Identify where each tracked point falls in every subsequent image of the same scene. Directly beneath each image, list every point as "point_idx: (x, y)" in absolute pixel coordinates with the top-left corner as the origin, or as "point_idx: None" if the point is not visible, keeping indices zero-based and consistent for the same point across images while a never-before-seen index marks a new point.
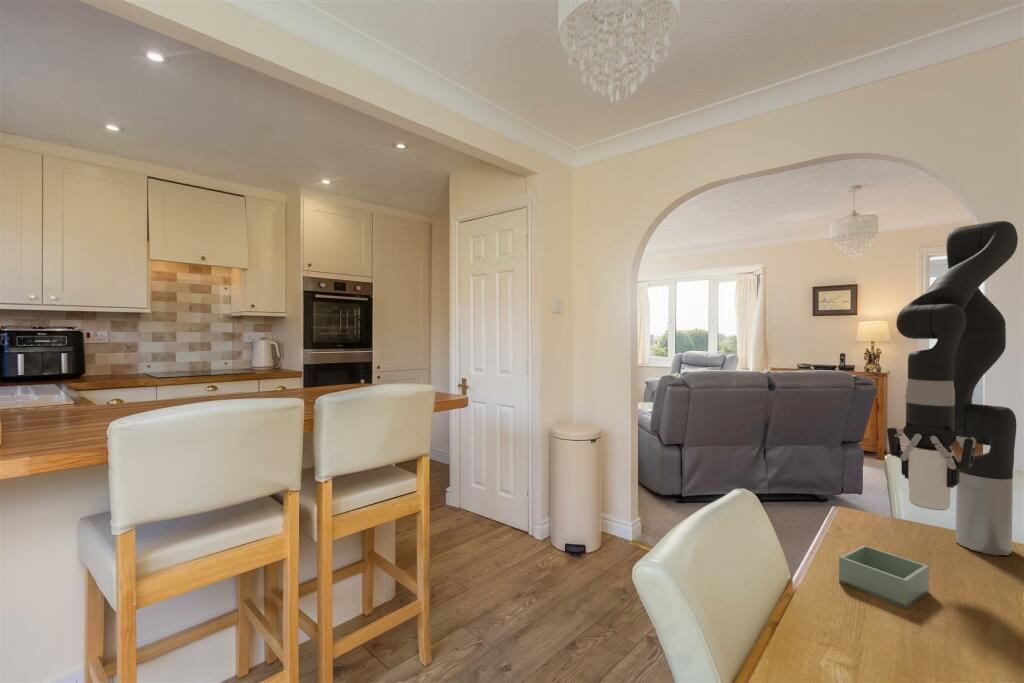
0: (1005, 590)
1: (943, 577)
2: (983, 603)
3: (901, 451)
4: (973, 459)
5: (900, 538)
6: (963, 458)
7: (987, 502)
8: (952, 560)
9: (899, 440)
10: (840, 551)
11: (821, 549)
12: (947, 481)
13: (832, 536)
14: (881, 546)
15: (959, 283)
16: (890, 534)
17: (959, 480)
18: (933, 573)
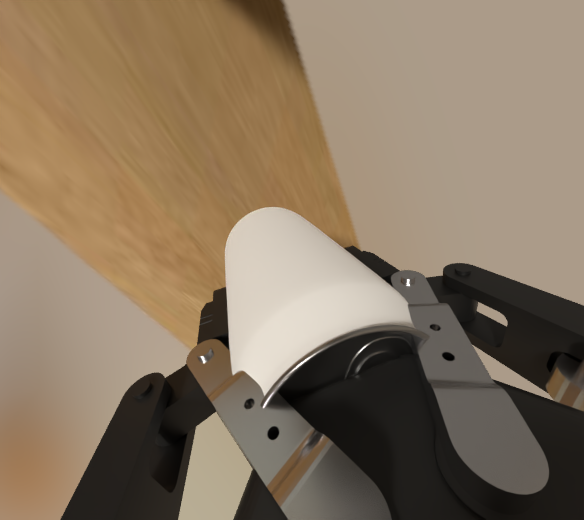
0: (320, 153)
1: (266, 201)
2: (326, 229)
3: (185, 408)
4: (505, 278)
5: (86, 65)
6: (483, 343)
7: None
8: (221, 96)
9: (126, 498)
10: (150, 276)
11: (138, 300)
12: None
13: (69, 232)
14: (135, 176)
15: None
16: (53, 59)
17: (377, 256)
18: (252, 202)
